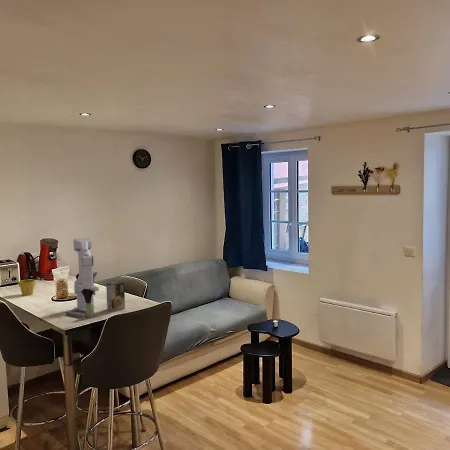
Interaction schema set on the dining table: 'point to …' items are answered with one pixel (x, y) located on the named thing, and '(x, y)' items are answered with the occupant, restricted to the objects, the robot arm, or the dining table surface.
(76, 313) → the u rest
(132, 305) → the dining table surface
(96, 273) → the coffeepot
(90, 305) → the bottle
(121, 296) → the coffee box
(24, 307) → the dining table surface
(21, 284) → the plant pot
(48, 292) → the dining table surface
